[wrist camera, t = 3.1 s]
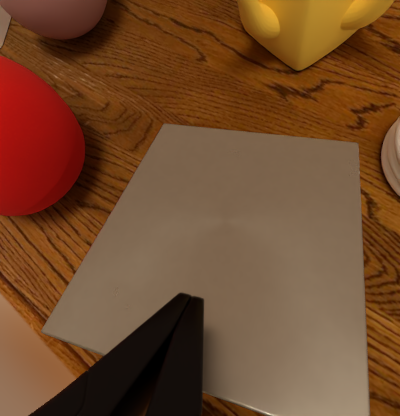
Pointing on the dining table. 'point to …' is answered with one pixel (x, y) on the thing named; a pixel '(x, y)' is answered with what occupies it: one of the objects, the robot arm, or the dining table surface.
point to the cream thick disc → (392, 156)
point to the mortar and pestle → (56, 16)
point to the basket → (3, 24)
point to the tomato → (35, 142)
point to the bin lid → (238, 266)
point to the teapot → (306, 25)
